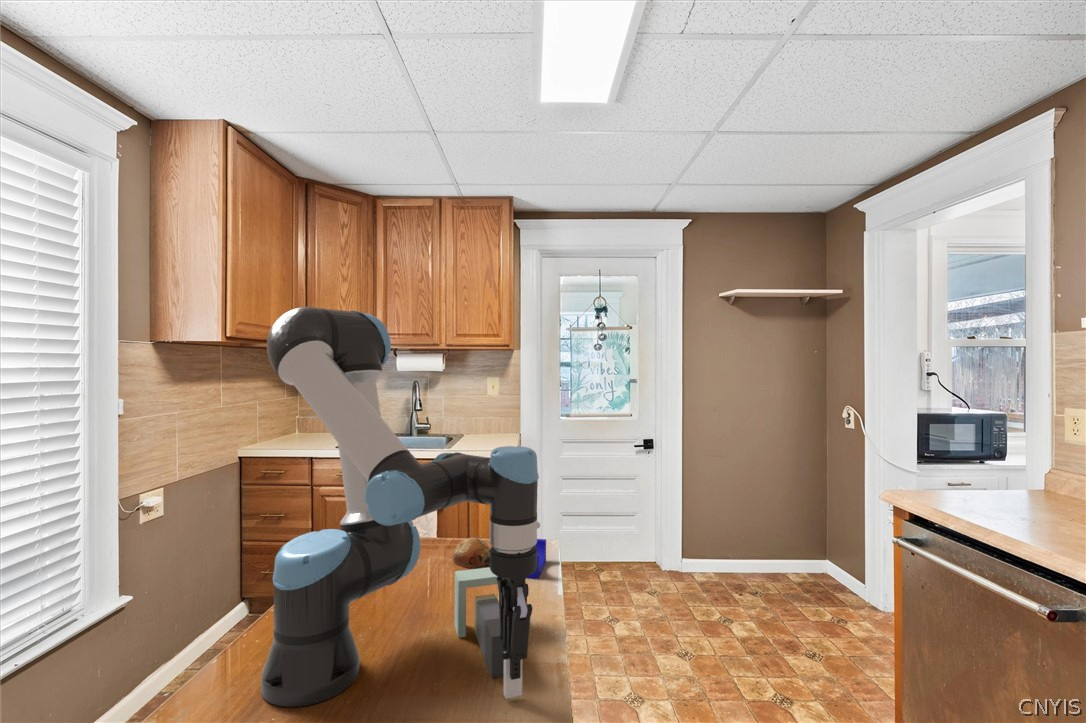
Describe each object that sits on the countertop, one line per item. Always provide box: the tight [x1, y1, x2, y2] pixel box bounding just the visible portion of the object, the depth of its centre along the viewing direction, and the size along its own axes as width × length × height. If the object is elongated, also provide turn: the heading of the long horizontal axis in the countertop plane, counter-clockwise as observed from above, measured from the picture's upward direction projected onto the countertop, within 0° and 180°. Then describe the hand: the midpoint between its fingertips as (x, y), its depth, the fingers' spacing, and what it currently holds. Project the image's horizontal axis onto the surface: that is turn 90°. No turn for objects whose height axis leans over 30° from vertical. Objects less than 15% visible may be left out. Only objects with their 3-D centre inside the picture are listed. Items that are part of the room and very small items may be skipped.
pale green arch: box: [453, 566, 498, 639], centre depth 104 cm, size 11×5×11 cm, turn 108°
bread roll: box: [452, 537, 490, 569], centre depth 139 cm, size 10×10×8 cm
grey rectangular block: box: [474, 593, 506, 679], centre depth 96 cm, size 4×16×7 cm, turn 18°
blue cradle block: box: [526, 538, 547, 580], centre depth 134 cm, size 12×4×6 cm, turn 170°
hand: (512, 693), depth 82 cm, fingers closed
